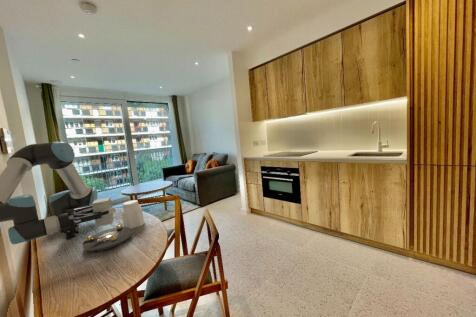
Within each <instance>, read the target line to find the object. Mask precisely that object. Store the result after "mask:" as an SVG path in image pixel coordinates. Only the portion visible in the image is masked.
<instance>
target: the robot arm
mask: <svg viewBox="0 0 476 317" xmlns="http://www.w3.org/2000/svg"><path fill="white" fill-rule="evenodd" d="M74 151H75V150H74V148H73V147H72V146H71V144H70V143H68V142H66V141H53V142H43V143H31V144H28V145H26V146H23V147H21V148H19V149H18V150H17V151H16V152H14V153H12V155H11V156H10V157H9V158H8V159H7V160H6V167H5V168H4V169H3V171H2V172H1V173H0V223H4V222H9V221H13V226H10V227H9V228H8V229H7V233H8V238H9V241H10V243H11V245H19V244H22V243H26V242H29V241H32V240H35V239H39V238H42V237H45V236H48V235H50V236H53V235H54V233H55V234H56V233H58V232H60V231H61V230H66V229H69V228H70V227H71V225H70V224H71V223H74V224H75V225H76V224H79V225H80V224H82V223H86V222H90V221H95V219H99V218H100V219H101V218H102V216H105V215H108V214H111V213H113V214H114V213H117V209H116V206H114V207H113V206H112V208H109V209H105V210H102V211H100V212H96V213H94V212H93V207H92V203H93V202H94V201H95V200H98V191H97V189H96V188H91V187H90V186H89V185H88V184H86V183H85V182H84V180H83V178H82V176H81V175H80V173H79V172H78V170H77V168H76V167H75V165H74V160H75V159H76V158H75V156H76V155H75V152H74ZM41 165H48V168H50V169H51V170H55V172H56V173H57V174H58V176H59V177H60V178H61V180H62V181H63V182H64V184H65V185H66V186H67V188H68V190H63V191H60V192H57V193H54V194H51V195H50V196H49V197H48V201H49V206H50V210H51V215H52V216H49V217H44V218H41V219H40V218H39V215H38V209H37V203H36V200H35V199H34V195H32V194H21V195H17V196H13V197H12V195H13V194H14V192H15V191H16V190H17V188H18V187H19V185H20V183H21V181H22V180H23V178H24V176H25V175H26V174H27V172H29V171H31V170H32V168H33V167H36V166H41ZM87 207H89V208H87ZM82 208H86V209H83V210H80V211H77V212H76V211H75V209H76V210H77V209H82ZM71 213H72V214H71ZM68 214H71V216H68Z"/></svg>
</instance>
